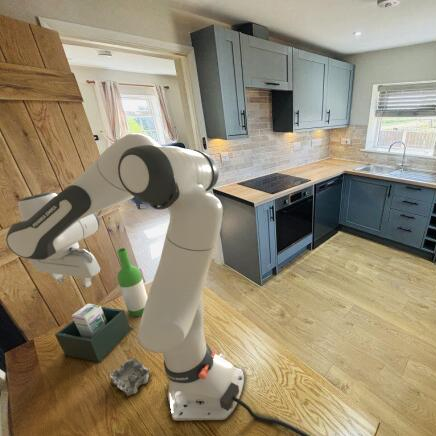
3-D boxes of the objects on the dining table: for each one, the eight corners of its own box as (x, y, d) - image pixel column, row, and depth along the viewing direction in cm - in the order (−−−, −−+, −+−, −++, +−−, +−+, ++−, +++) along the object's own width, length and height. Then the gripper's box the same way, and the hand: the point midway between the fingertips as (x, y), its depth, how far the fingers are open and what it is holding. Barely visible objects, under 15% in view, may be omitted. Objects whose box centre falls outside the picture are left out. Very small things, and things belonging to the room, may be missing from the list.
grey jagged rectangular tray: (109, 381, 74) (105, 373, 73) (134, 362, 80) (131, 353, 79) (128, 400, 69) (124, 391, 68) (153, 378, 75) (150, 369, 74)
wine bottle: (139, 302, 105) (121, 243, 93) (154, 305, 104) (138, 246, 92) (124, 315, 98) (103, 253, 86) (140, 319, 97) (121, 256, 85)
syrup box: (98, 348, 83) (85, 317, 78) (84, 345, 84) (70, 314, 79) (112, 335, 89) (101, 305, 83) (99, 332, 90) (87, 302, 84)
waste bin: (130, 329, 92) (124, 310, 88) (99, 362, 80) (90, 341, 76) (100, 324, 94) (93, 305, 90) (65, 355, 82) (54, 334, 78)
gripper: (98, 244, 71) (111, 281, 77) (42, 238, 75) (59, 274, 80) (77, 255, 66) (93, 294, 71) (18, 248, 69) (37, 286, 74)
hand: (74, 284), depth 76 cm, fingers open, 8 cm apart
